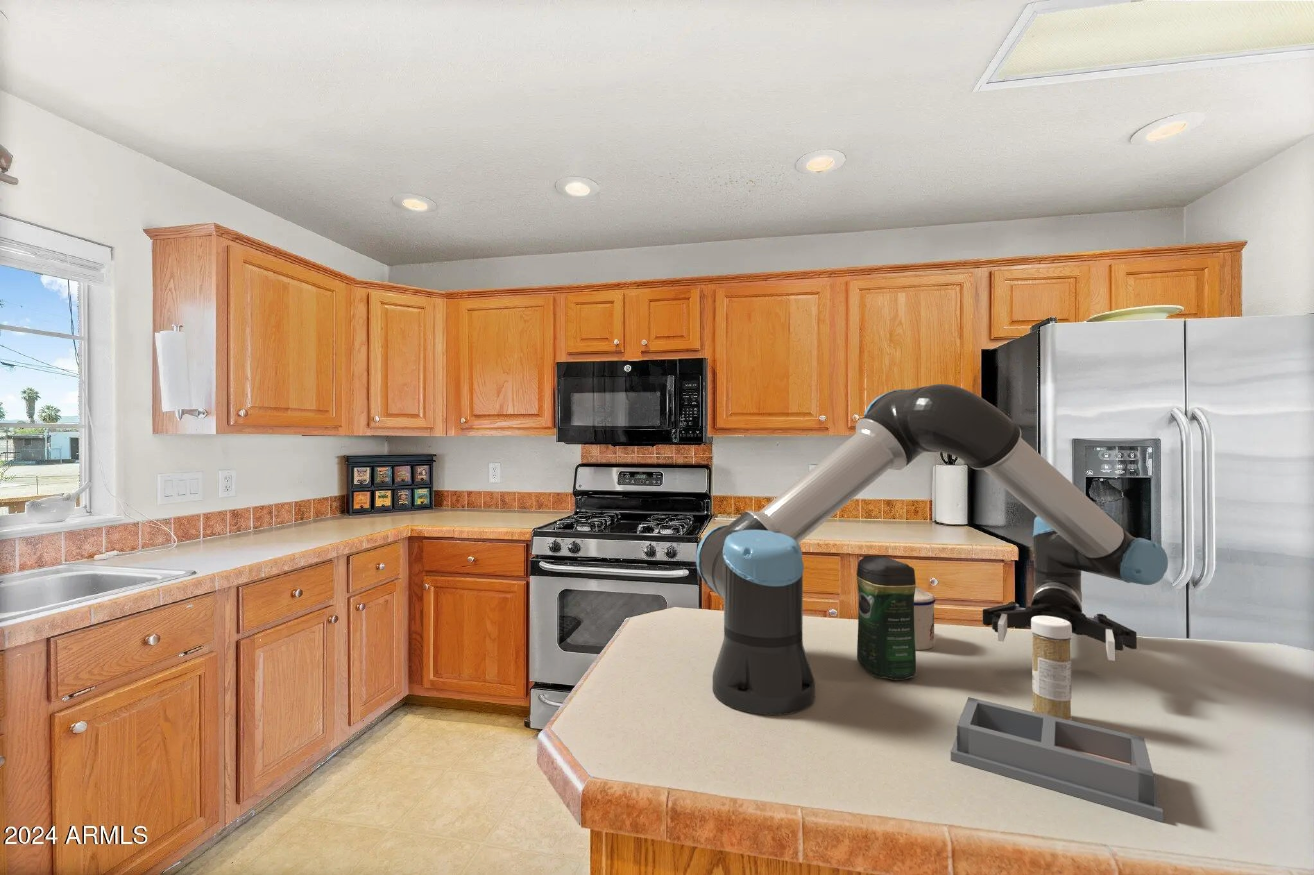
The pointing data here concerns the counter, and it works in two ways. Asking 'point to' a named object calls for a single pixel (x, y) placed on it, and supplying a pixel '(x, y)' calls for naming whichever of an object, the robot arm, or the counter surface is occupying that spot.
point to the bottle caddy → (1059, 756)
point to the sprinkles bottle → (1051, 666)
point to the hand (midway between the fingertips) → (1053, 641)
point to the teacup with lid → (923, 619)
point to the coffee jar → (886, 617)
